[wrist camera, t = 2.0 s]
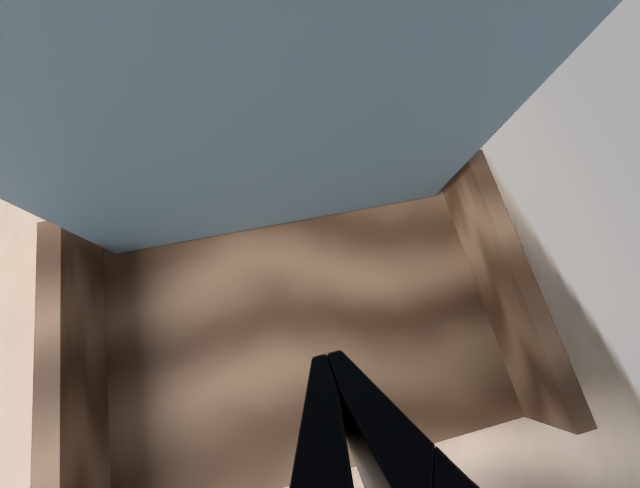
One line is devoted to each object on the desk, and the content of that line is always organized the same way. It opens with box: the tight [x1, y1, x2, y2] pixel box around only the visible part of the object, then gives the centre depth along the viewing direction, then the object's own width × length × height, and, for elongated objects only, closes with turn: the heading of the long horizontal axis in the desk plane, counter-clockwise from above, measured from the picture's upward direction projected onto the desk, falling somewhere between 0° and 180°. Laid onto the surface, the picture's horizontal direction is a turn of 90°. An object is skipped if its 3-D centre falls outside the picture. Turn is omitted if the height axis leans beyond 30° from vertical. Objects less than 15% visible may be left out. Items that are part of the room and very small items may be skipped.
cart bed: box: [30, 150, 598, 488], centre depth 19 cm, size 17×27×5 cm, turn 103°
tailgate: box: [0, 0, 622, 254], centre depth 13 cm, size 1×23×20 cm, turn 103°
